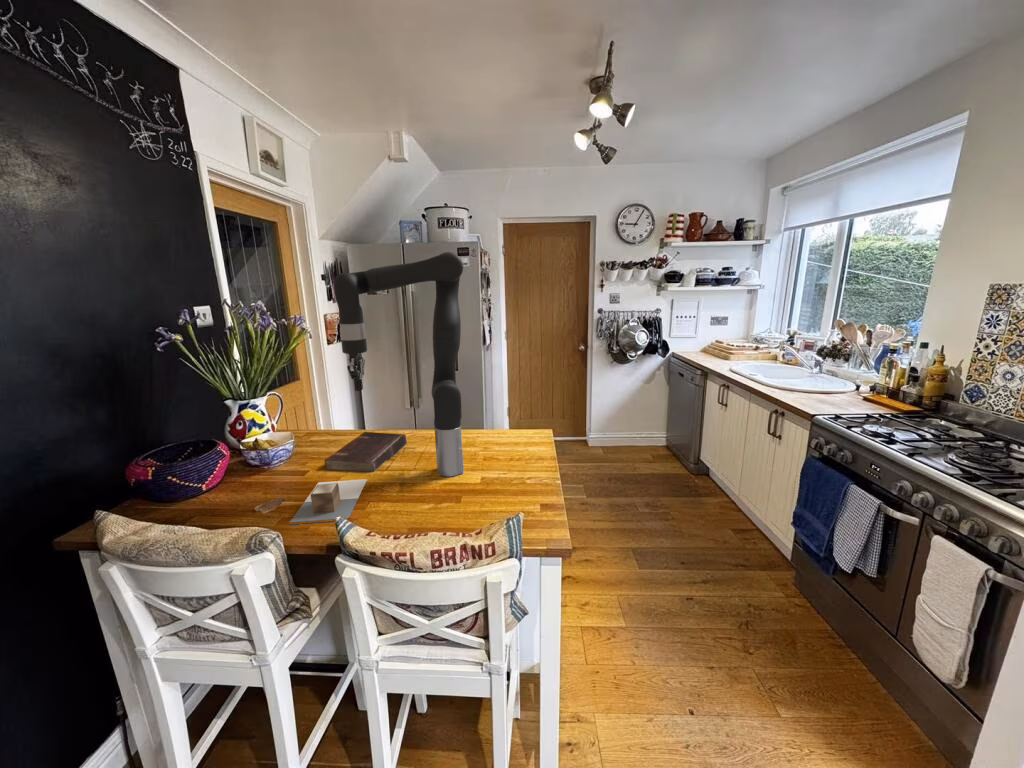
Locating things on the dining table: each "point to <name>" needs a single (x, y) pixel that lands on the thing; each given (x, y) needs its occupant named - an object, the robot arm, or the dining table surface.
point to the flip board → (347, 502)
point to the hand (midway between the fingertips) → (359, 390)
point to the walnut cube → (325, 498)
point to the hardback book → (366, 452)
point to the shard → (269, 505)
